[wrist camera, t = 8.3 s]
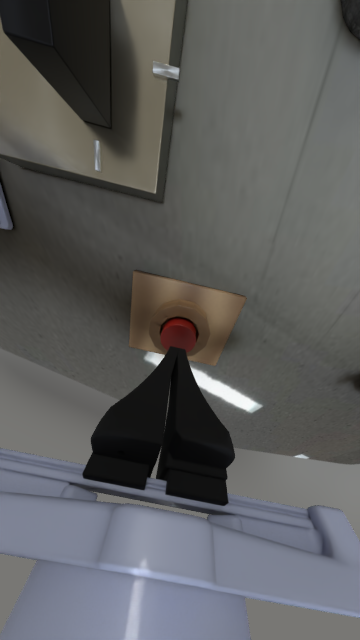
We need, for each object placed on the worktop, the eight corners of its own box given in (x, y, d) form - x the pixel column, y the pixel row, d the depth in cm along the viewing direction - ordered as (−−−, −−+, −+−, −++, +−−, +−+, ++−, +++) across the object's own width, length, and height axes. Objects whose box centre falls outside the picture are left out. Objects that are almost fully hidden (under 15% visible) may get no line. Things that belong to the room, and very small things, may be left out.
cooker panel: (21, 167, 12) (-22, 148, 9) (-43, -109, 7) (-161, -285, 5) (169, 205, 12) (163, 195, 10) (203, -33, 7) (208, -162, 5)
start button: (160, 341, 16) (157, 350, 15) (165, 314, 15) (163, 321, 13) (191, 348, 16) (190, 357, 15) (199, 321, 15) (200, 329, 13)
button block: (130, 343, 20) (122, 356, 17) (135, 269, 15) (125, 274, 13) (214, 362, 20) (217, 377, 18) (245, 295, 15) (253, 304, 13)
